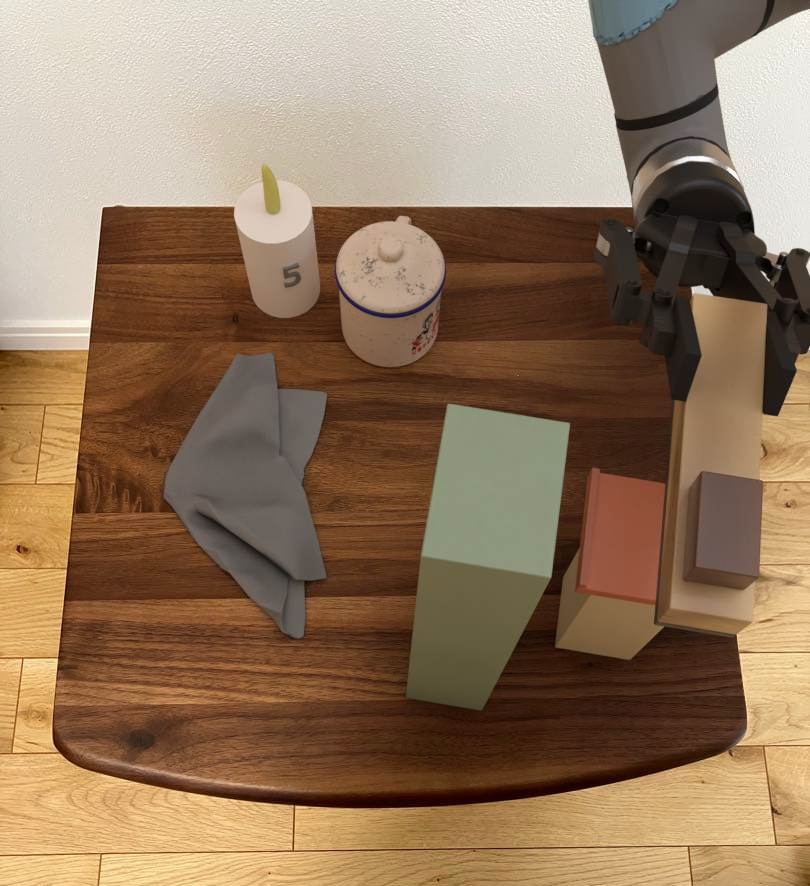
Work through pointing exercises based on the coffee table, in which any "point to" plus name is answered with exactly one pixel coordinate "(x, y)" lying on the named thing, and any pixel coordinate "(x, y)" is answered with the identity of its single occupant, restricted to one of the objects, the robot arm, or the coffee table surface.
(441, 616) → the mint green pillar
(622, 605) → the red-capped tan pillar
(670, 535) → the tan wooden block
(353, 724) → the coffee table surface
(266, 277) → the candle
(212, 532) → the cloth
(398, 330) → the teacup with lid
